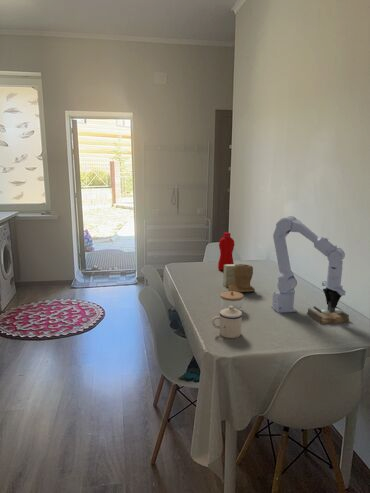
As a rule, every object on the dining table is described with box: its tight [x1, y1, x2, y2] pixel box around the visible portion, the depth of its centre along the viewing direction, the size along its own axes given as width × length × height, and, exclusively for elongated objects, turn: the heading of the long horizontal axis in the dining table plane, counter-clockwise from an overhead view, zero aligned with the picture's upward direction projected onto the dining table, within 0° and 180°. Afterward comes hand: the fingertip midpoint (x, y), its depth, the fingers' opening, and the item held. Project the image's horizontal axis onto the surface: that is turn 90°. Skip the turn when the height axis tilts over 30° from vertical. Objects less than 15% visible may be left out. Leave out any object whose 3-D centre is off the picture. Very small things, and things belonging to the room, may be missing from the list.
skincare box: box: [222, 264, 236, 288], centre depth 210 cm, size 6×4×12 cm
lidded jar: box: [220, 290, 245, 310], centre depth 173 cm, size 11×11×9 cm
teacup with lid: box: [211, 306, 243, 339], centre depth 148 cm, size 12×9×12 cm
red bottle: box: [217, 232, 235, 272], centre depth 244 cm, size 9×11×25 cm
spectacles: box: [313, 301, 343, 314], centre depth 165 cm, size 10×8×5 cm
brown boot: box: [228, 263, 256, 293], centre depth 201 cm, size 15×12×15 cm
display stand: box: [306, 308, 350, 325], centre depth 166 cm, size 14×11×3 cm
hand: (331, 305), depth 163 cm, fingers closed on spectacles, 3 cm apart
